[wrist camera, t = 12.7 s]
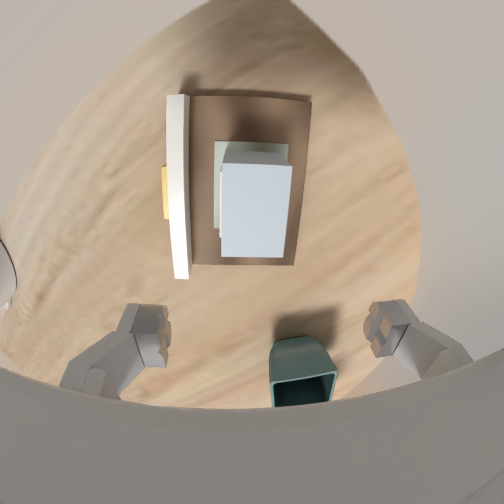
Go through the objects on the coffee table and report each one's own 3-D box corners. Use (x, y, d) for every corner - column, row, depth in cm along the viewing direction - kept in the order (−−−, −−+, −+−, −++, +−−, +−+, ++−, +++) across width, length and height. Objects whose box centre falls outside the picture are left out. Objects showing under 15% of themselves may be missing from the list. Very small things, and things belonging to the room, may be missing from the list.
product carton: (221, 223, 28) (218, 256, 22) (223, 150, 25) (219, 163, 18) (271, 224, 29) (282, 257, 22) (277, 152, 25) (292, 166, 19)
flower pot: (322, 323, 39) (339, 371, 31) (318, 360, 43) (331, 403, 35) (262, 332, 38) (269, 382, 31) (266, 368, 43) (272, 413, 35)
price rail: (174, 263, 30) (169, 278, 28) (168, 97, 22) (160, 95, 19) (192, 264, 31) (189, 279, 28) (189, 96, 22) (184, 94, 19)
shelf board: (181, 257, 32) (179, 264, 30) (177, 97, 23) (173, 96, 22) (291, 258, 33) (293, 266, 31) (307, 102, 24) (312, 102, 23)
